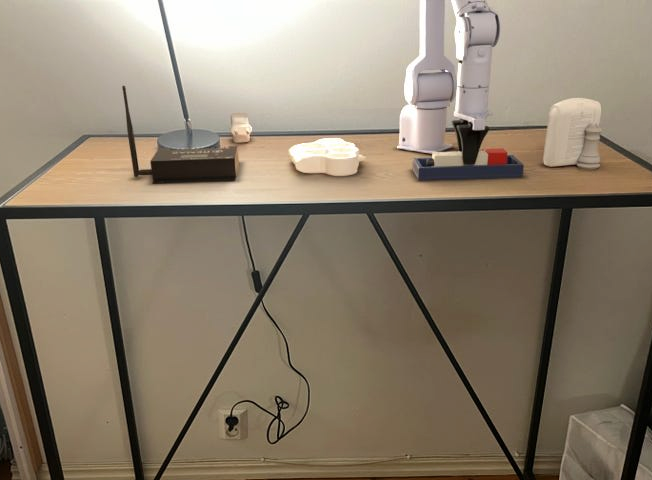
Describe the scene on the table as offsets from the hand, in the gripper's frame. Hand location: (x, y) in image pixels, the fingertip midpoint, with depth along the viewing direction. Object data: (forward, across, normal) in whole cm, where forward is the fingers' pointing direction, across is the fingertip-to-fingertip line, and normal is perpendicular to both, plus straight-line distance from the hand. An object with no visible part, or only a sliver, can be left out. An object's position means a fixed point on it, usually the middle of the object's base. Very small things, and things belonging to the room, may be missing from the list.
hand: (467, 161), depth 137 cm
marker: (+1, 0, 0) cm, 1 cm away
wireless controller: (+2, +7, +54) cm, 55 cm away
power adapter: (+2, +32, +45) cm, 55 cm away
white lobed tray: (+2, +10, +26) cm, 28 cm away
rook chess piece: (+2, +2, -24) cm, 25 cm away
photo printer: (+2, +5, -21) cm, 22 cm away
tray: (+2, 0, 0) cm, 2 cm away
